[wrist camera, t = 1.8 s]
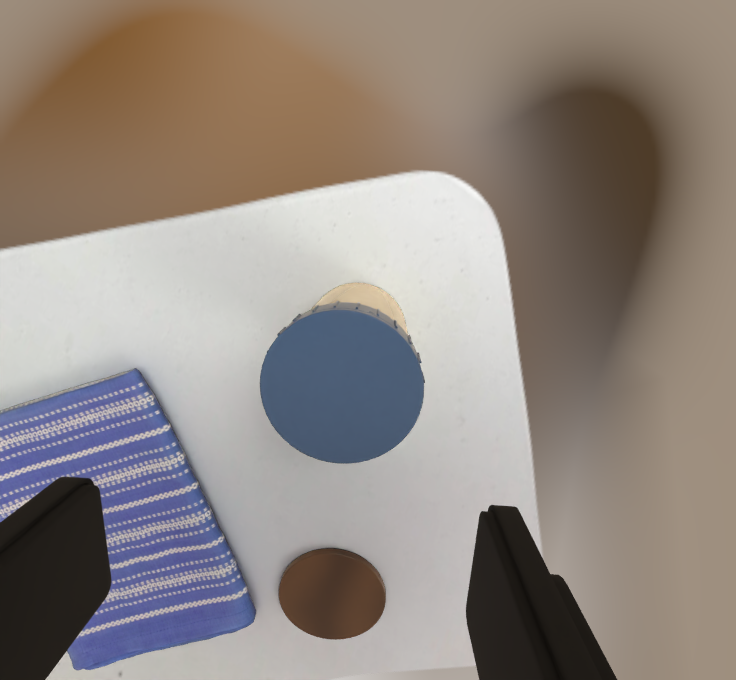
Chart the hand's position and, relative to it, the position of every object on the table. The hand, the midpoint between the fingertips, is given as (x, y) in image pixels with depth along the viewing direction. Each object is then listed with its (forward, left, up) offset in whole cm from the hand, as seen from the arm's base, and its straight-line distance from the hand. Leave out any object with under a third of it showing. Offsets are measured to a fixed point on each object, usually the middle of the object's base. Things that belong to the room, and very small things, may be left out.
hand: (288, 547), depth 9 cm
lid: (0, 0, -10) cm, 10 cm away
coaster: (+1, +23, -20) cm, 31 cm away
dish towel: (+19, +17, -20) cm, 33 cm away
